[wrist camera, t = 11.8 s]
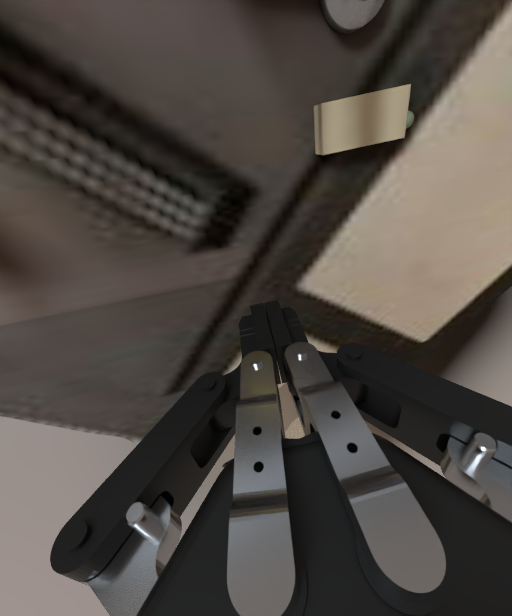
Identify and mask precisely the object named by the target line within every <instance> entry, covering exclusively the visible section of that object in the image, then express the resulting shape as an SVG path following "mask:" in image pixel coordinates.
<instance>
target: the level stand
mask: <svg viewBox="0 0 512 616" xmlns="http://www.w3.org/2000/svg"><path fill="white" fill-rule="evenodd" d="M410 87H411V84H408V85H404V86H399V87H395V88H390V89H386V90H381V91H376V92H372V93H367V94H363V95H358V96H353V97H349V98H344V99H340V100H335V101H330V102H326V103H321V104H319V105H316V106H314V125H315V148H316V154H319V155H326V154H331V153H335V152H340V151H345V150H349V149H354V148H359V147H363V146H368V145H373V144H377V143H382V142H386V141H391V140H396V139H400V138H405V130H406V128H408V127H410V126H411V124H412V123H413V121H414V114H413V113H412V112H411V111H408V105H409V96H410Z"/></svg>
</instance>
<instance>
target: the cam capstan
mask: <svg viewBox="0 0 512 616" xmlns="http://www.w3.org/2000/svg"><path fill="white" fill-rule="evenodd" d="M320 2H321V8H322V12H323V14H324V17H325V19H326V21H327V22H328V24H329V25H330V26H331V27H332V28H333V29H334V30H335V31H337V32H340V33H344V34H348V33H353V32H355V31H357V30H359V29H361V28H362V27H363V26H364V25H365V24H367V23H368V22H369V21H370V20H371V19H372V18H373V17H374V16H375V15H376V14H377V13H378V11H379V10H380V8H381V6H382V4H383V2H384V0H320Z"/></svg>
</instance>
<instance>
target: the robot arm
mask: <svg viewBox="0 0 512 616" xmlns="http://www.w3.org/2000/svg"><path fill="white" fill-rule="evenodd" d="M250 308H251V314H252V315H249V316H244V317H242V319H241V321H240V323H239V328H240V340H241V351H242V361H241V363H240V365H239V366H238V367H237V368H236V369H235V370H234V371H232V372H230V373H228V374H226V375H224V376H223V375H222V374H220V373H216V372H211V373H207V374H205V375H203V376H201V377H200V378H198V379H197V380H196V381H195V383H194V384H193V385H192V386H191V387H190V388H189V389H188V390H187V391H186V392H185V394H184V395H183V396H182V397H181V398H180V399H179V400H178V401H177V402H176V403H175V405H174V406H173V407H172V408H171V409H170V410H169V411H168V412H167V413H166V414H165V415H164V417H163V418H162V419H161V420H160V421H159V422H158V423H157V424H156V425H155V426H154V428H153V429H152V430H151V431H150V432H149V433H148V434H147V435H146V436H145V437H144V439H143V440H142V441H141V442H140V443H139V444H138V445H137V446H136V448H135V449H134V450H133V451H132V452H131V453H130V454H129V455H128V456H127V457H126V458H125V459H124V461H123V462H122V463H121V464H120V465H119V466H118V467H117V468H116V469H115V470H114V472H113V473H112V474H111V475H110V476H109V477H108V478H107V479H106V480H105V482H104V483H103V484H102V485H101V486H100V487H99V488H98V489H97V490H96V491H95V492H94V494H93V495H92V496H91V497H90V498H89V499H88V500H87V501H86V502H85V503H84V504H83V506H82V507H81V508H80V509H79V510H78V511H77V512H76V513H75V514H74V515H73V516H72V518H71V519H70V520H69V521H68V522H67V523H66V524H65V525H64V527H63V528H62V530H61V531H60V532H59V534H58V536H57V538H56V540H55V542H54V544H53V547H52V551H51V557H50V561H51V566H52V568H53V570H54V571H56V572H57V573H59V574H62V575H64V576H66V577H69V578H71V579H73V580H76V581H78V582H81V583H83V584H85V585H88V586H90V587H91V588H92V590H93V591H94V593H95V594H96V596H97V597H98V599H99V600H100V602H101V603H102V605H103V606H104V607H105V609H106V610H107V612H108V613H109V615H110V616H512V407H511V406H509V405H506V404H504V403H502V402H499V401H496V400H494V399H492V398H489V397H487V396H485V395H482V394H480V393H477V392H475V391H472V390H470V389H468V388H465V387H463V386H460V385H458V384H456V383H453V382H451V381H448V380H446V379H443V378H441V377H438V376H436V375H434V374H431V373H428V372H426V371H424V370H422V369H419V368H417V367H414V366H412V365H409V364H407V363H405V362H402V361H400V360H397V359H395V358H393V357H390V356H388V355H385V354H383V353H380V352H378V351H376V350H373V349H371V348H368V347H366V346H363V345H361V344H356V343H349V344H345V345H343V346H341V347H340V348H339V349H338V350H337V353H325V352H320V351H317V350H316V348H315V347H314V346H313V345H312V344H310V343H308V340H307V338H306V336H305V333H304V331H303V328H302V326H301V324H300V321H299V319H298V317H297V314H296V312H295V311H294V310H292V309H291V308H290V307H288V308H283V309H281V308H280V305H279V302H278V300H276V301H271V302H266V303H265V308H264V304H263V303H261V304H256V305H252V306H250ZM265 309H266V312H265ZM266 314H267V316H266ZM267 319H268V320H267ZM277 363H278V365H277ZM278 367H279V370H278ZM279 371H280V375H281V380H282V383H286V382H287V384H288V388H289V391H290V393H291V397H292V400H293V403H294V405H295V408H296V411H297V414H298V416H299V419H300V422H301V425H302V427H303V430H304V433H305V436H304V437H302V438H300V439H287V438H285V432H284V424H283V417H282V409H281V401H280V395H279V391H278V385H277V384H281V381H280V375H279ZM363 419H364V420H365V421H367V422H369V423H370V424H372V425H374V426H375V427H377V428H379V429H380V430H382V431H383V432H385V433H387V434H388V435H390V436H392V437H393V438H395V439H397V440H399V441H400V442H402V443H403V444H405V445H406V446H408V447H410V448H411V449H413V450H415V451H416V452H418V453H420V454H421V455H423V456H425V457H426V458H428V459H429V460H431V461H433V462H435V463H436V464H438V465H439V466H441V470H442V473H443V475H444V476H445V478H444V477H443V476H441V475H440V474H438V473H437V472H435V471H433V470H432V469H430V468H429V467H427V466H426V465H424V464H423V463H421V462H420V461H418V460H417V459H415V458H414V457H412V456H411V455H409V454H408V453H406V452H404V451H403V450H402V449H400V448H399V447H397V446H396V445H394V444H393V443H391V442H390V441H388V440H386V439H384V438H382V437H381V436H378V435H376V434H373V433H371V431H370V430H369V428H368V426H367V425H366V423H365V421H364V420H363ZM234 434H235V457H234V459H233V460H232V461H230V462H229V463H228V464H227V466H226V467H225V468H224V469H223V470H222V472H221V473H220V474H219V476H218V478H217V479H216V481H215V483H214V484H213V486H212V488H211V489H210V491H209V493H208V494H207V496H206V498H205V500H204V501H203V503H202V505H201V506H200V508H199V510H198V512H197V513H196V515H195V517H194V519H193V520H192V522H191V523H190V525H189V527H188V529H187V530H186V532H185V534H184V535H183V537H182V539H181V540H180V542H179V539H180V536H181V530H182V523H181V519H180V516H181V515H182V513H183V511H184V510H185V509H186V507H187V506H188V504H189V502H190V501H191V499H192V498H193V496H194V495H195V493H196V492H197V490H198V489H199V487H200V486H201V484H202V483H203V481H204V480H205V478H206V477H207V475H208V474H209V472H210V471H211V469H212V468H213V466H214V465H215V463H216V461H217V460H218V458H219V457H220V455H221V454H222V452H223V451H224V449H225V448H226V446H227V445H228V443H229V442H230V440H231V439H232V437H233V436H234ZM178 542H179V544H178ZM177 544H178V546H177ZM176 546H177V547H176ZM175 548H176V549H175ZM174 550H175V551H174Z"/></svg>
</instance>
